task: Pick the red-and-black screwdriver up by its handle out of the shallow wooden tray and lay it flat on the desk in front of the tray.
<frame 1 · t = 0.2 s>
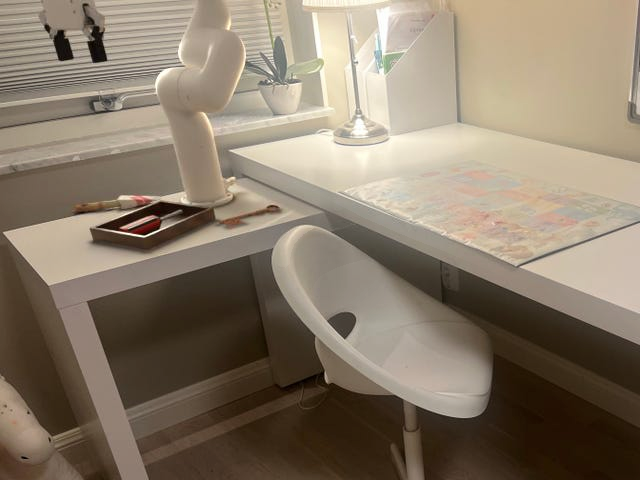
hand: (83, 61, 147), 37 cm above the table, tool pointing down, fingers open, 9 cm apart
paintbrush: (121, 209, 181), on the table
wooden tray: (156, 231, 166), on the table
screwdriver: (141, 235, 162), resting on wooden tray
key: (252, 218, 172), on the table
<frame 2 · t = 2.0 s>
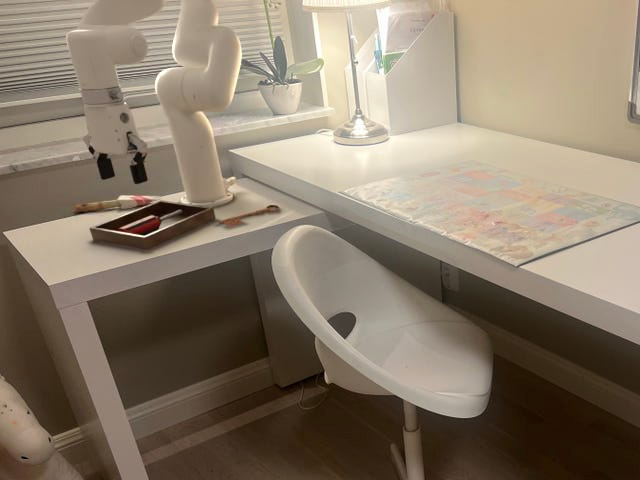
hand: (124, 180, 156), 13 cm above the table, tool pointing down, fingers open, 9 cm apart
screwdriver: (141, 235, 162), resting on wooden tray, tilted 9°
everything else where it was.
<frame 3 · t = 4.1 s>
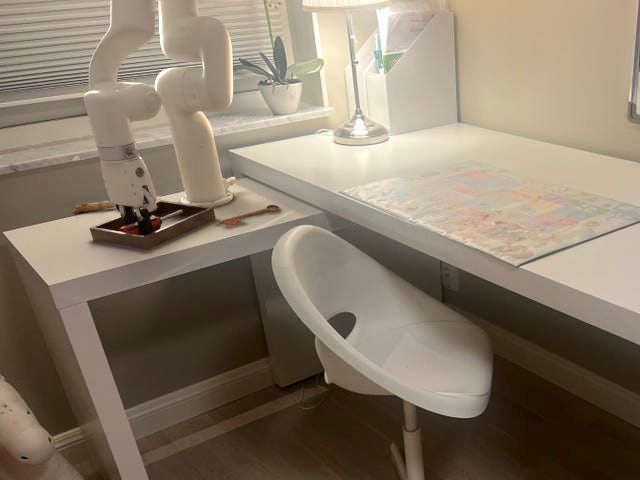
hand: (141, 234, 162), 1 cm above the table, tool pointing down, fingers closed on screwdriver, 3 cm apart
screwdriver: (142, 235, 162), resting on wooden tray, touching gripper
everything else where it was.
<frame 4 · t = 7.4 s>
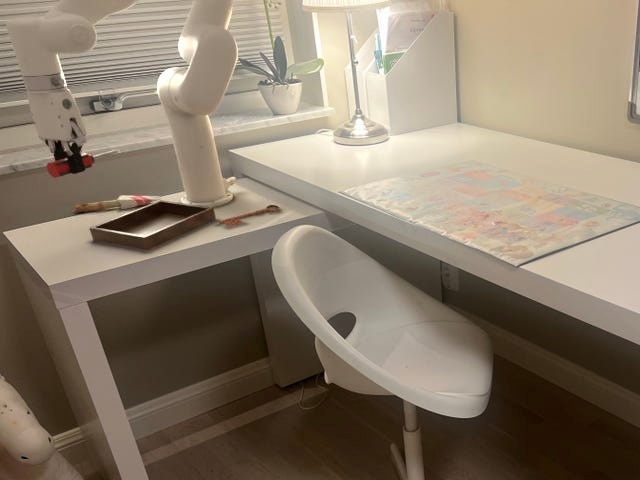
hand: (72, 170, 160), 14 cm above the table, tool pointing down, fingers closed on screwdriver, 3 cm apart
screwdriver: (72, 172, 160), point 14 cm above the table, touching gripper
everything else where it was.
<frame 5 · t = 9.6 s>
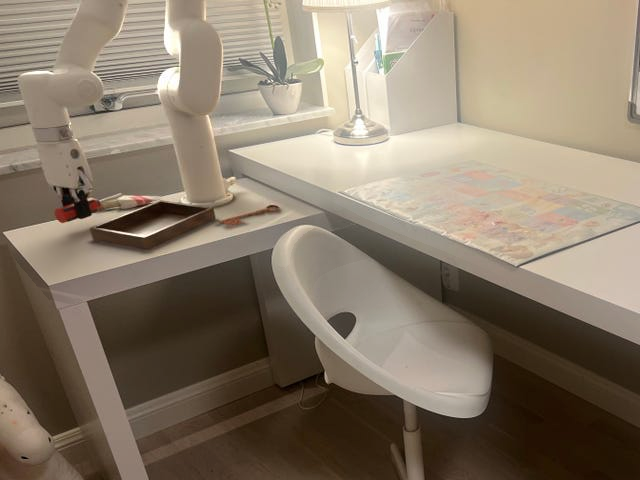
hand: (79, 215, 165), 4 cm above the table, tool pointing down, fingers closed on screwdriver, 3 cm apart
screwdriver: (79, 217, 165), point 3 cm above the table, touching gripper
everything else where it was.
when the fingers open (0 cm above the table, at t = 10.8 s): screwdriver stays where it is, on the table.
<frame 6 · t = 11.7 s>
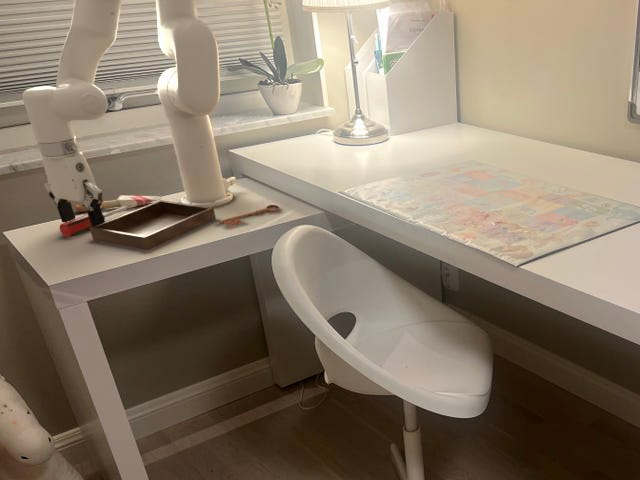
hand: (83, 223, 167), 2 cm above the table, tool pointing down, fingers open, 9 cm apart
screwdriver: (84, 231, 167), on the table, tilted 9°
everything else where it was.
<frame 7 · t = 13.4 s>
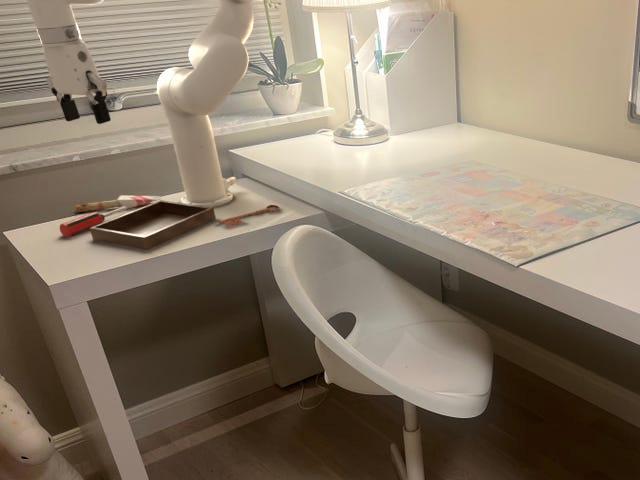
hand: (88, 121, 158), 24 cm above the table, tool pointing down, fingers open, 9 cm apart
nothing on the table moved.
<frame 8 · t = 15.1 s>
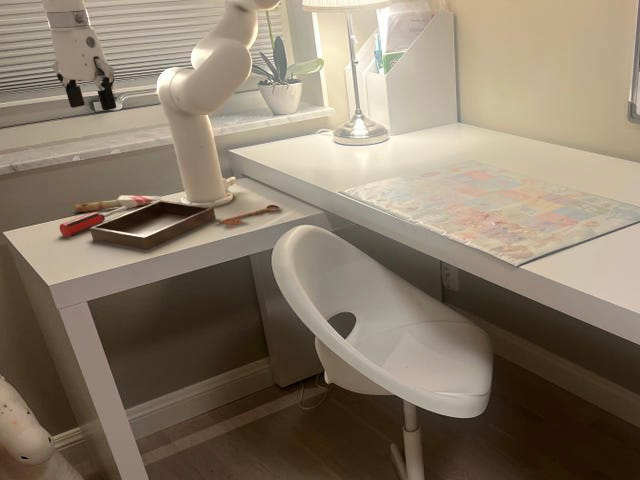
hand: (93, 107, 157), 26 cm above the table, tool pointing down, fingers open, 9 cm apart
nothing on the table moved.
at the end: screwdriver inside the target area (0.6 cm from its centre), on the table; screwdriver touching table; the gripper is holding nothing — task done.
